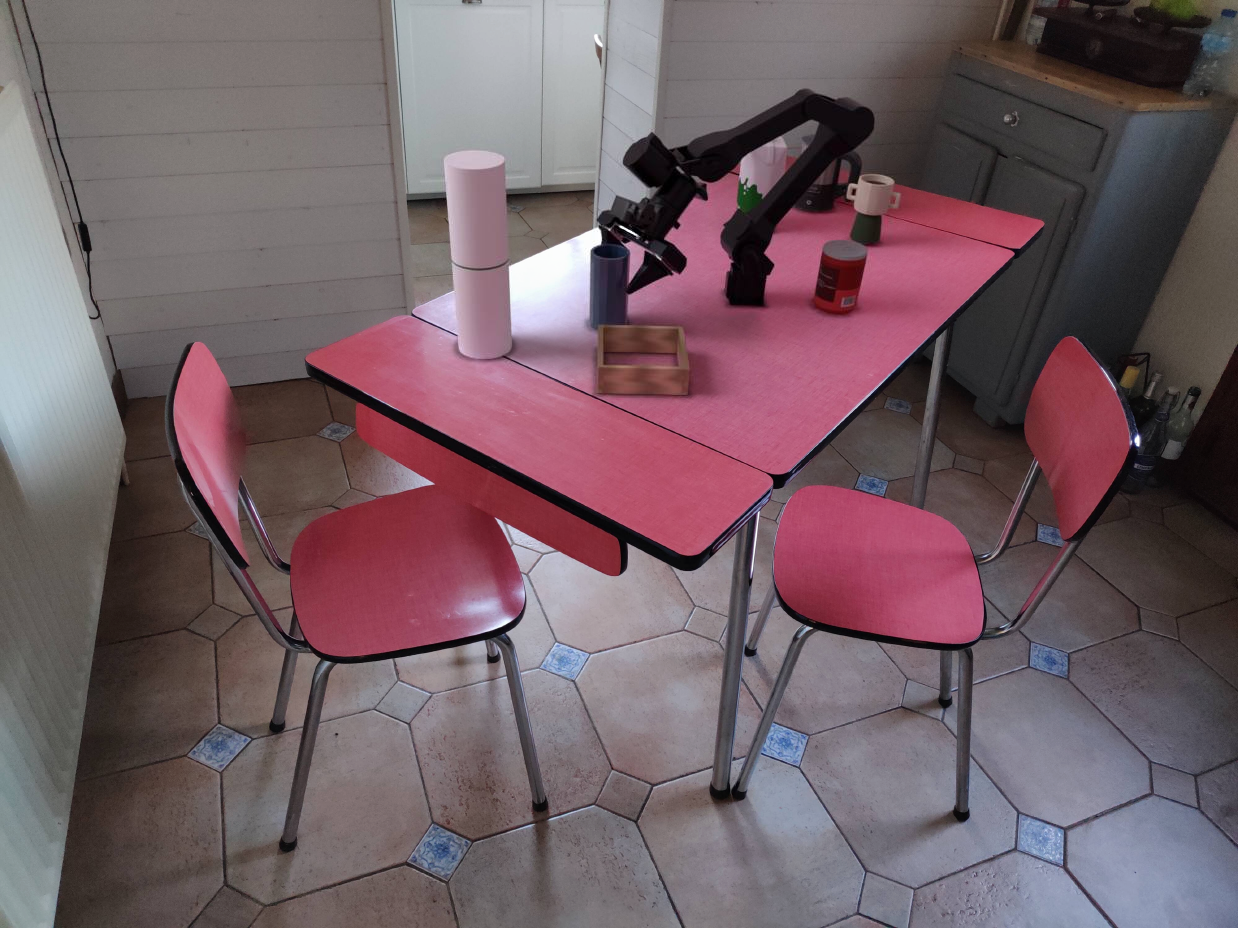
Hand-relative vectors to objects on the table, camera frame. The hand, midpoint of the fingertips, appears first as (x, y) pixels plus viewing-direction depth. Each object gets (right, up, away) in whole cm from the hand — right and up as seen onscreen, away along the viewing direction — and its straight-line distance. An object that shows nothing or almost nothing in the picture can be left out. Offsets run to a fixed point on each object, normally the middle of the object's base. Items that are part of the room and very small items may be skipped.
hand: (610, 283), depth 148 cm
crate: (+5, -16, -8) cm, 18 cm away
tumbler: (-1, -6, +4) cm, 7 cm away
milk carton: (+31, +21, +43) cm, 57 cm away
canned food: (+40, -2, +13) cm, 42 cm away
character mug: (+53, +16, +39) cm, 67 cm away
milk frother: (+48, +30, +57) cm, 81 cm away
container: (-20, -11, -4) cm, 23 cm away
